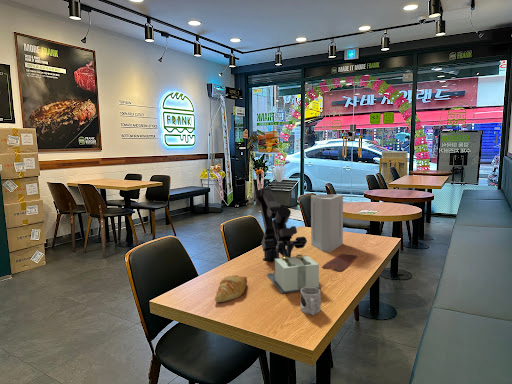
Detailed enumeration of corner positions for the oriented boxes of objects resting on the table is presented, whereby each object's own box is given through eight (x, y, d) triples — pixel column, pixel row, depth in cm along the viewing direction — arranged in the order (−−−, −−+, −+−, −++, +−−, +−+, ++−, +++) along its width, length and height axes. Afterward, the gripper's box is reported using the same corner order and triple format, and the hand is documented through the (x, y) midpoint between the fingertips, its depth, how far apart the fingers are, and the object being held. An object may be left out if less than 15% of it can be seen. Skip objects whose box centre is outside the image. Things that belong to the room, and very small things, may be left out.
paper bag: (319, 240, 202) (318, 193, 199) (343, 243, 194) (343, 194, 191) (304, 248, 187) (304, 197, 183) (330, 252, 178) (330, 199, 175)
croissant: (223, 315, 120) (232, 298, 117) (202, 298, 123) (209, 281, 120) (251, 291, 139) (258, 276, 136) (231, 277, 142) (238, 262, 139)
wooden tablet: (342, 273, 149) (342, 270, 149) (320, 269, 155) (320, 266, 155) (360, 257, 171) (360, 253, 171) (341, 254, 177) (341, 250, 177)
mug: (299, 305, 119) (299, 287, 118) (319, 305, 119) (318, 286, 118) (302, 319, 109) (302, 299, 108) (323, 319, 109) (323, 299, 108)
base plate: (266, 275, 148) (266, 250, 146) (301, 271, 151) (301, 247, 150) (281, 293, 128) (280, 265, 127) (320, 288, 132) (320, 261, 131)
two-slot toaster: (274, 279, 140) (274, 258, 139) (306, 276, 143) (306, 255, 142) (284, 291, 128) (283, 268, 127) (318, 287, 131) (318, 264, 130)
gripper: (263, 221, 143) (271, 254, 134) (305, 218, 147) (315, 250, 138) (259, 235, 152) (266, 267, 143) (298, 231, 156) (308, 262, 147)
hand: (289, 261), depth 142 cm, fingers closed
